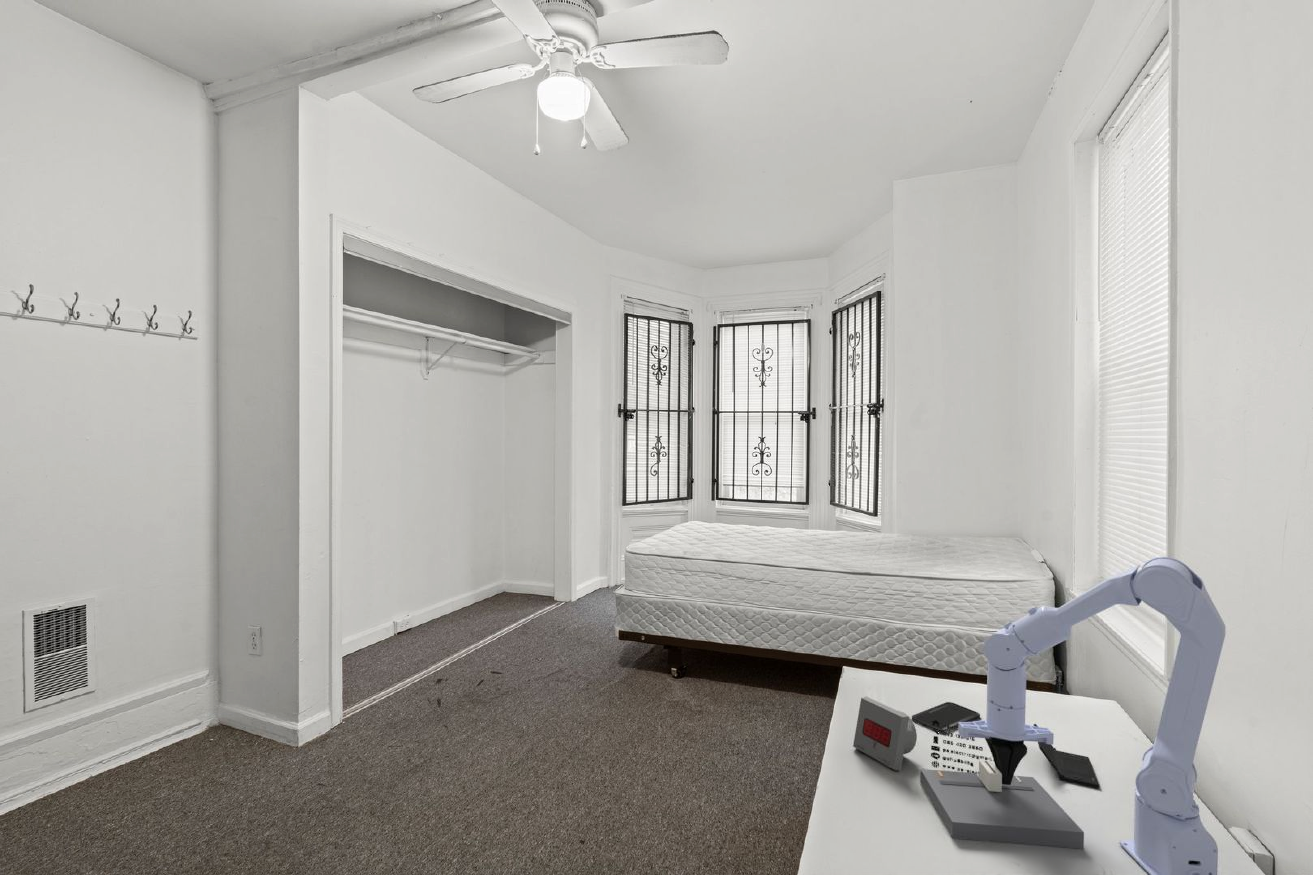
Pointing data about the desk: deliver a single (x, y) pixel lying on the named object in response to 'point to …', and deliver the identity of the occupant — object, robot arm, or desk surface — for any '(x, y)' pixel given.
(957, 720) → the square ic package
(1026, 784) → the grey slotted plate
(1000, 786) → the fader knob
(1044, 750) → the handheld gaming console
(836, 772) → the desk surface
